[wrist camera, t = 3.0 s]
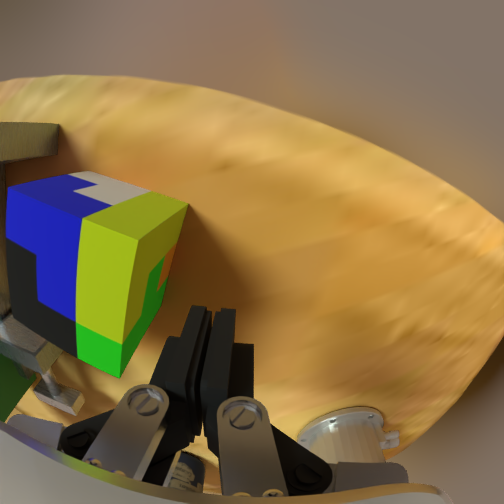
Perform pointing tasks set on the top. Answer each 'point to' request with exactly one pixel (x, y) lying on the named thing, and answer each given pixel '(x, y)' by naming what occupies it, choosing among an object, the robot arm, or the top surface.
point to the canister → (188, 474)
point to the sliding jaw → (38, 363)
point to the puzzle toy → (89, 262)
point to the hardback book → (11, 386)
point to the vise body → (5, 151)
